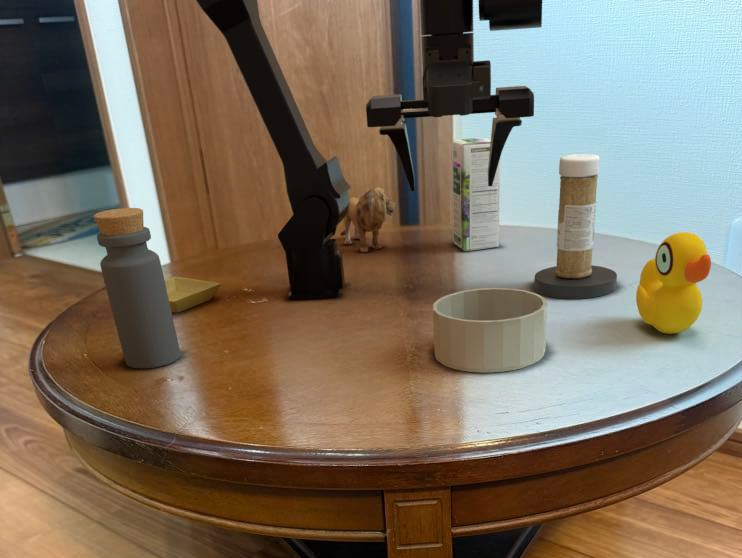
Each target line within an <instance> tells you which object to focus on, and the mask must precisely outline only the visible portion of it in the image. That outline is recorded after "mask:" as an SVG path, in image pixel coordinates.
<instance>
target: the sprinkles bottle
mask: <svg viewBox="0 0 742 558" xmlns="http://www.w3.org/2000/svg"><path fill="white" fill-rule="evenodd" d="M600 165H601V157H600V156H599V155H598V154H594V153H593V154H592V153H575V154H567V155H563V156H561V157H560V158H559V165H558V166H559V167H558V174H559V180H560V181H559V201H558V202H559V203H558V214H557V231H556V232H557V235H556V249H557V250H556V252H557V253H556V266H557V268H556V270H555V273H556V275H557V276H559V277H562V278H575V279H577V278H584V277H587V276H590V275H591V274H592V268H591V265H592V263H593V261H592V260H593V248H594V244H595V243H594V242H595V230H596V229H595V227H596V211H597V189H598V187H597V186H598V178H599V175H598V174H599V173H600V167H601V166H600Z"/></svg>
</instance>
